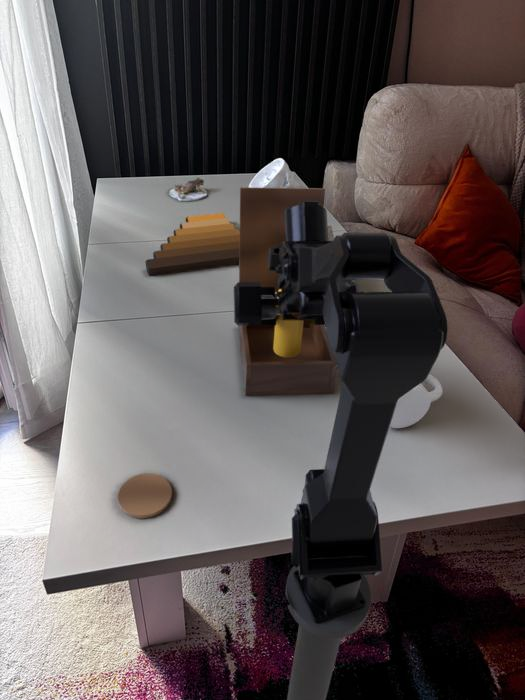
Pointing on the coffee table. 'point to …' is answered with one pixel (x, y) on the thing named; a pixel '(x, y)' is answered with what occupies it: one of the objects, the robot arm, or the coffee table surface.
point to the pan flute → (197, 246)
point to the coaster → (145, 495)
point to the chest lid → (266, 227)
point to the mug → (415, 404)
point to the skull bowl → (275, 176)
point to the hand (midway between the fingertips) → (288, 316)
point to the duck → (287, 337)
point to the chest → (286, 363)
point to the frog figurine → (189, 191)
